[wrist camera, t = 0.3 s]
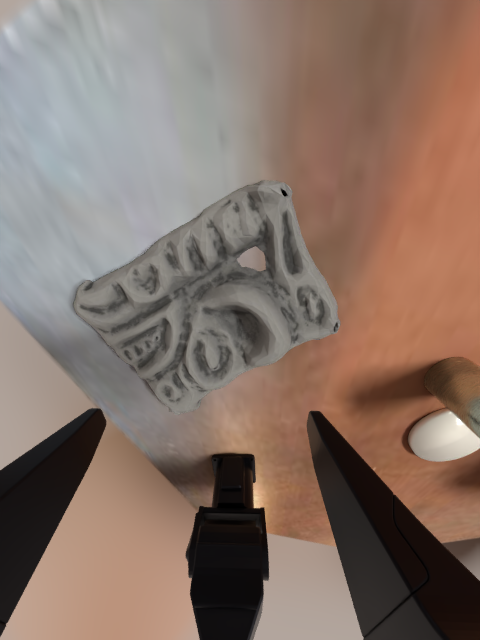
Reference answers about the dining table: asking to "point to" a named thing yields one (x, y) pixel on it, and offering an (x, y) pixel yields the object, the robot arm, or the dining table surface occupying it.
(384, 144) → the dining table surface
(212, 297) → the wall plaque
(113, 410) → the dining table surface
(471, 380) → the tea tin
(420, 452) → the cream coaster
